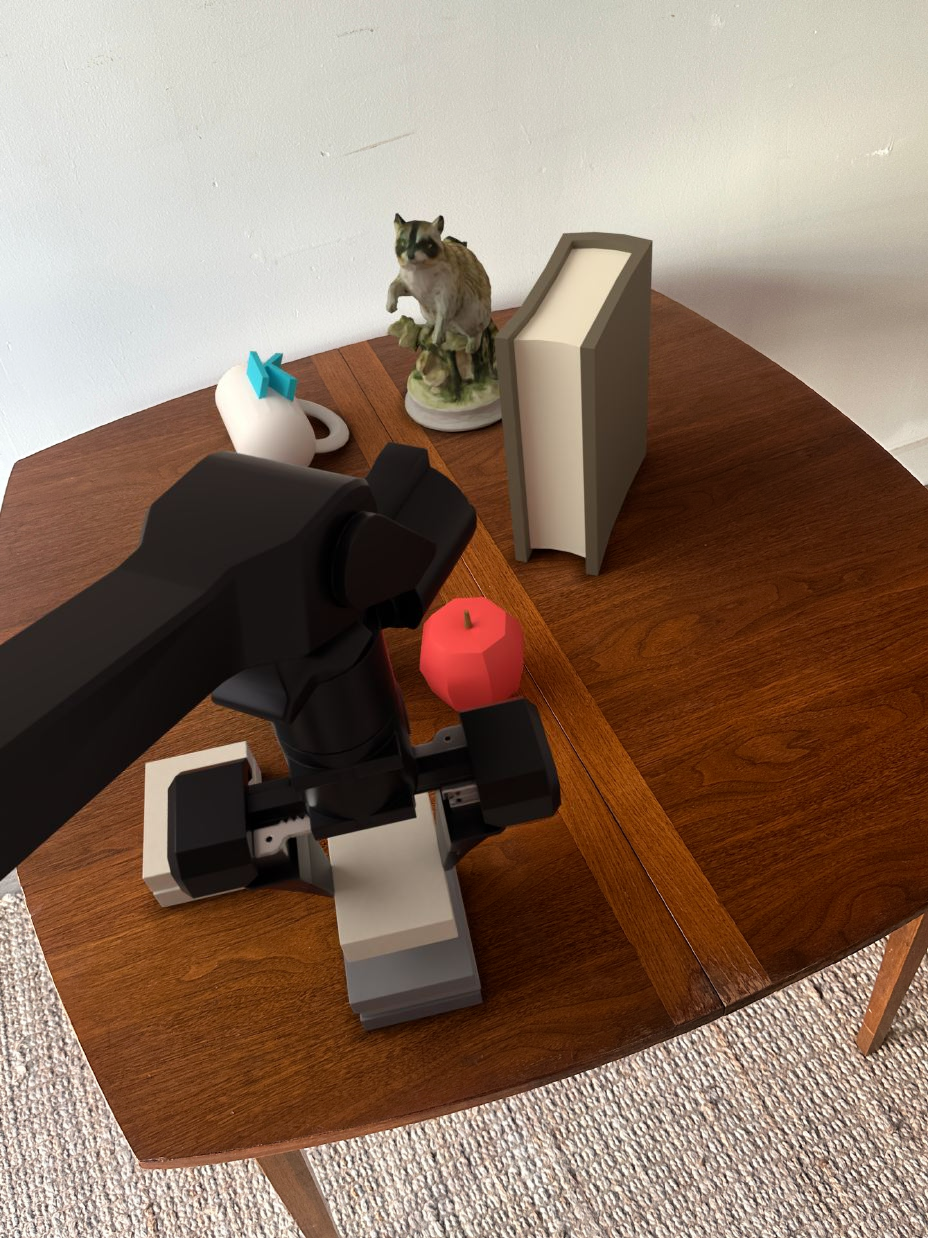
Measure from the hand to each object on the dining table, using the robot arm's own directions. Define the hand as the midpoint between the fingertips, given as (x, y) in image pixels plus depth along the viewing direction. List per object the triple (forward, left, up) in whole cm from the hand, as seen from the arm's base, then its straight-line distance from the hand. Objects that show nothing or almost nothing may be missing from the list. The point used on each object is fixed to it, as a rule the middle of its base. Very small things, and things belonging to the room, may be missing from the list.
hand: (390, 875), depth 56 cm
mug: (+52, +3, -9) cm, 53 cm away
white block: (0, 0, -1) cm, 1 cm away
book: (+36, -21, -9) cm, 42 cm away
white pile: (+11, +12, -9) cm, 18 cm away
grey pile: (0, 0, -9) cm, 9 cm away
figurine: (+55, -14, -9) cm, 57 cm away
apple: (+19, -8, -9) cm, 22 cm away
